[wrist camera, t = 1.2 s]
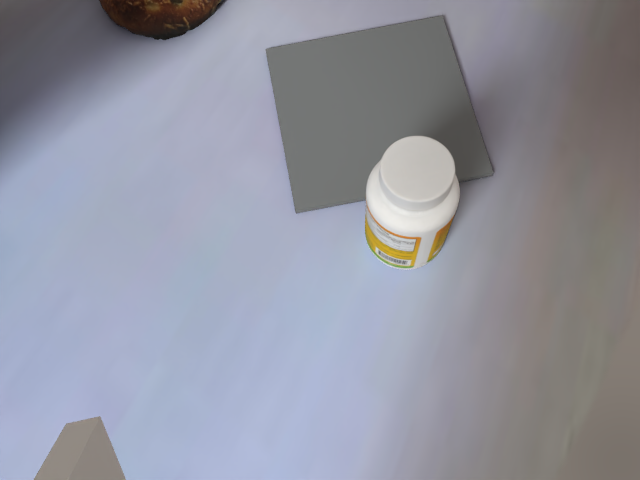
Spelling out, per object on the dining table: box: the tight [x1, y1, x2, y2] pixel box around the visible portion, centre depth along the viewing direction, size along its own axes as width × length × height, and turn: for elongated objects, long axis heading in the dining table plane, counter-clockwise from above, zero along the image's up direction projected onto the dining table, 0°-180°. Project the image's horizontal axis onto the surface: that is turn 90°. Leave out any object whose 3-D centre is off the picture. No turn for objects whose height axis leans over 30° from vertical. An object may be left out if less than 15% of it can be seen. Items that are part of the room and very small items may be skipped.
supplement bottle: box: [365, 136, 460, 270], centre depth 36 cm, size 5×5×10 cm
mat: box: [266, 16, 494, 213], centre depth 44 cm, size 14×14×1 cm
